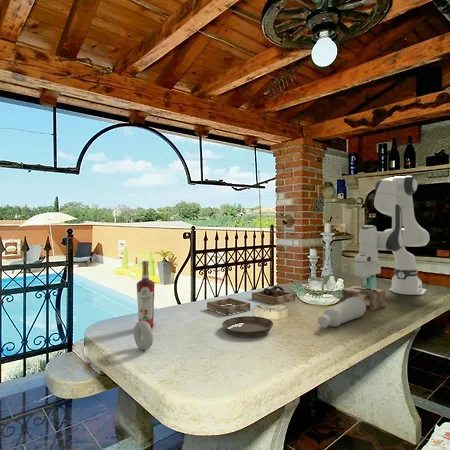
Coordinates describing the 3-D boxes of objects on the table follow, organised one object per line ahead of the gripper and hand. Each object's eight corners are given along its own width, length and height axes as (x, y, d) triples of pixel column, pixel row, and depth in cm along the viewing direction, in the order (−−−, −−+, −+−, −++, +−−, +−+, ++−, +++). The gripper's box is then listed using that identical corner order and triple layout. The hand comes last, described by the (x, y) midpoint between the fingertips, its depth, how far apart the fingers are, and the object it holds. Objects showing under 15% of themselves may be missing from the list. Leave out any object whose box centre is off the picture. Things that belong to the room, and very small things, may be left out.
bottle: (345, 306, 153) (309, 321, 133) (354, 291, 149) (319, 305, 129) (360, 319, 148) (326, 338, 128) (371, 305, 144) (337, 322, 124)
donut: (132, 347, 114) (131, 318, 114) (140, 344, 116) (140, 316, 116) (146, 355, 107) (145, 325, 107) (155, 352, 109) (154, 322, 109)
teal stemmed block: (366, 297, 169) (366, 275, 169) (376, 299, 164) (376, 277, 164) (361, 299, 165) (361, 276, 165) (371, 301, 161) (371, 278, 161)
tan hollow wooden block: (355, 300, 178) (355, 285, 178) (385, 305, 165) (385, 290, 165) (341, 304, 169) (341, 289, 169) (371, 310, 157) (371, 294, 157)
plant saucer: (212, 329, 132) (212, 321, 132) (249, 320, 145) (249, 312, 145) (245, 344, 116) (244, 335, 116) (284, 332, 128) (284, 323, 128)
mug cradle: (271, 294, 195) (270, 288, 195) (294, 299, 181) (294, 293, 181) (251, 298, 184) (251, 292, 184) (275, 304, 170) (275, 298, 170)
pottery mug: (280, 296, 191) (285, 286, 187) (282, 307, 183) (286, 296, 179) (261, 292, 190) (265, 281, 187) (261, 302, 182) (265, 291, 178)
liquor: (136, 331, 130) (135, 262, 130) (137, 326, 138) (136, 260, 138) (155, 330, 132) (154, 262, 132) (155, 324, 139) (154, 260, 139)
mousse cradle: (229, 304, 173) (229, 297, 173) (250, 310, 160) (250, 303, 160) (207, 309, 163) (206, 302, 163) (227, 316, 151) (227, 308, 151)
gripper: (372, 255, 174) (372, 280, 174) (352, 258, 161) (352, 285, 161) (384, 255, 169) (384, 282, 169) (364, 258, 156) (364, 287, 156)
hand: (368, 283), depth 165 cm, fingers closed on teal stemmed block, 5 cm apart
